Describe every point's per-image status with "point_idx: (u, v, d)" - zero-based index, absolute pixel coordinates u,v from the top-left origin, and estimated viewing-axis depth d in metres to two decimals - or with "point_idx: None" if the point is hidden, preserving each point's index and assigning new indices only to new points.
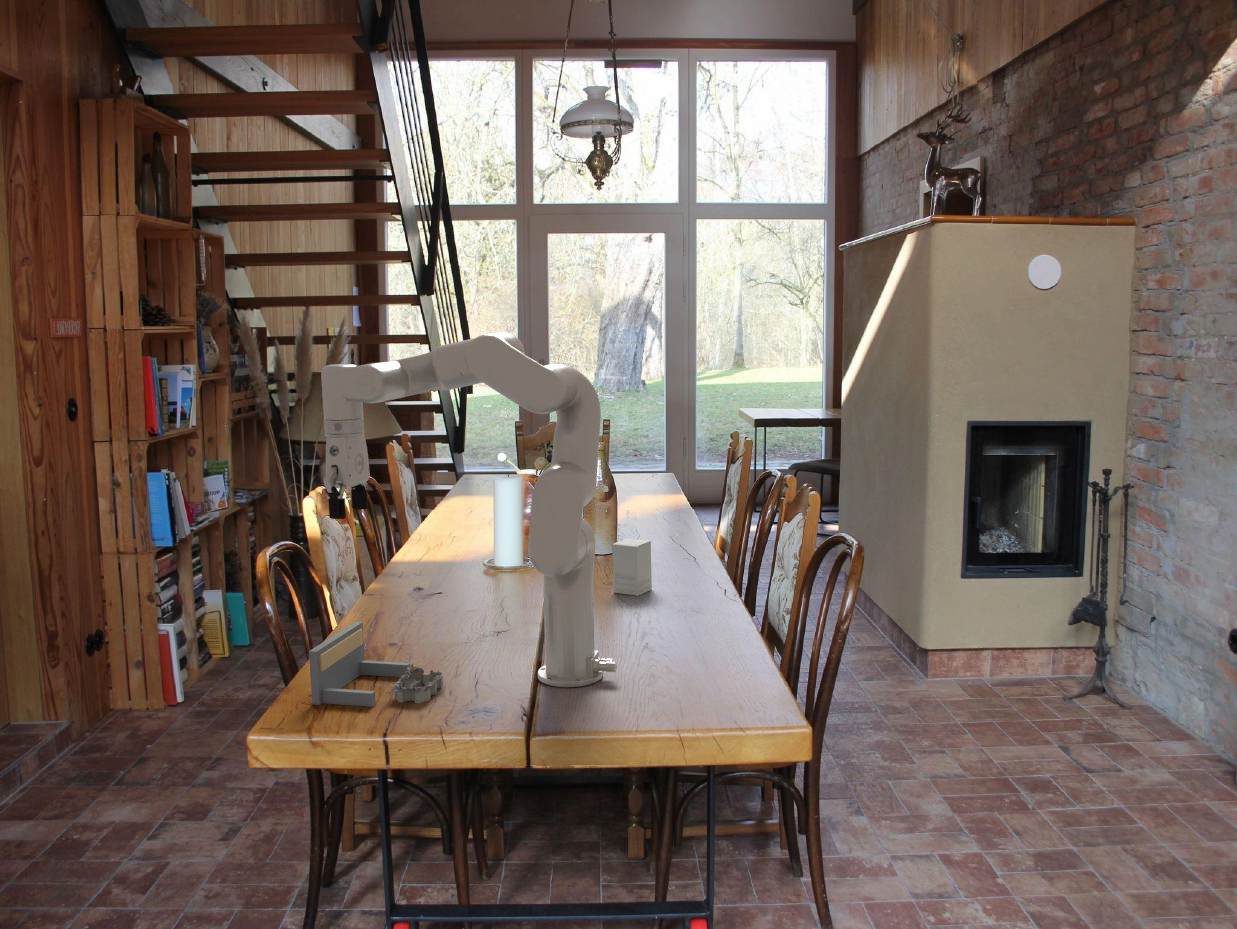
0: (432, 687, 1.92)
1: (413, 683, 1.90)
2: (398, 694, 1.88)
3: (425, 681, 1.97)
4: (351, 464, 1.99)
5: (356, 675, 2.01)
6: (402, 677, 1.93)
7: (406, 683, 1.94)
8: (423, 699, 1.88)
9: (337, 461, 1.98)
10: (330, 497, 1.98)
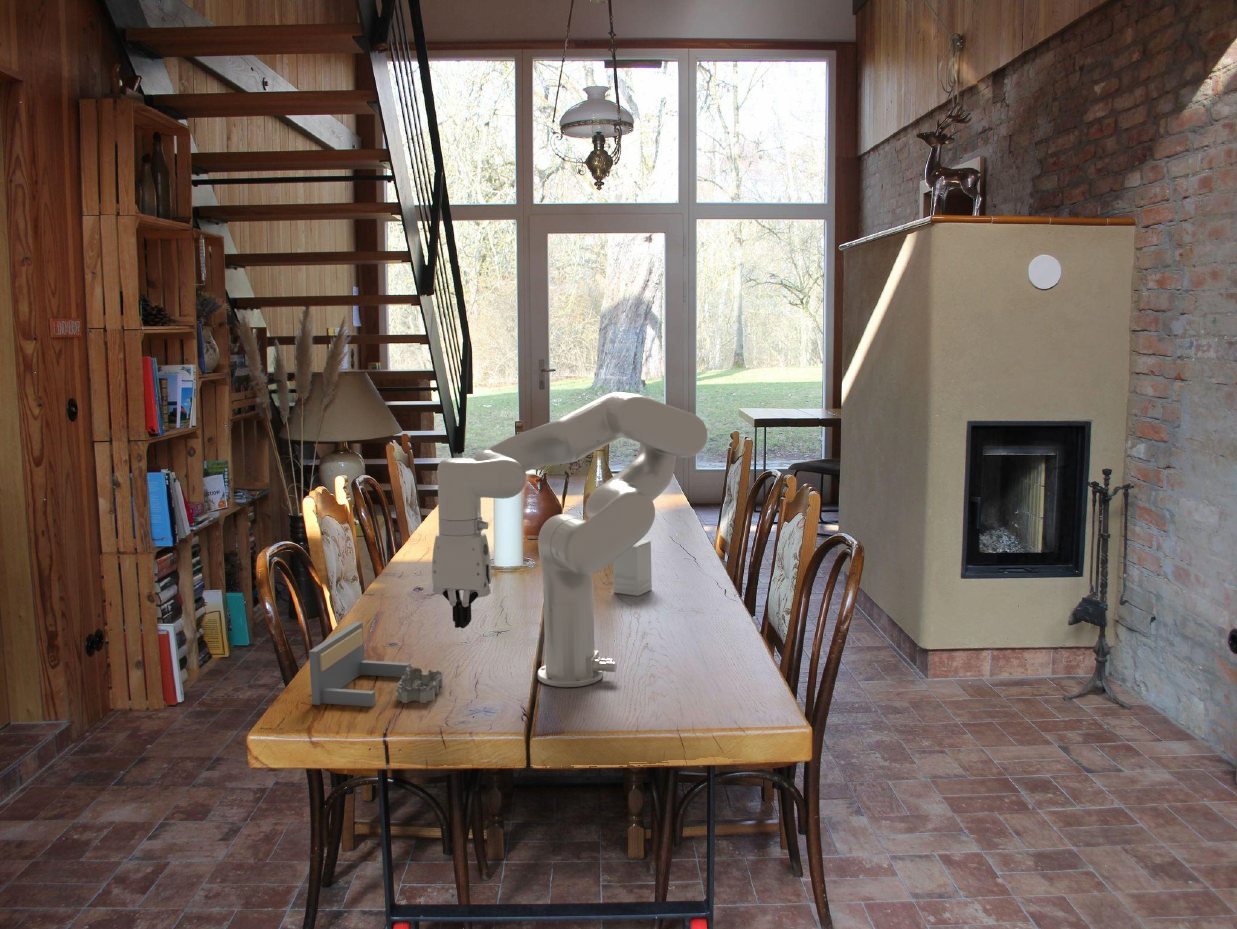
0: (435, 687, 1.92)
1: (416, 683, 1.90)
2: (403, 694, 1.88)
3: (424, 680, 1.97)
4: None
5: (356, 675, 2.01)
6: (403, 678, 1.93)
7: (406, 684, 1.94)
8: (428, 698, 1.88)
9: (488, 559, 1.86)
10: (470, 604, 1.87)
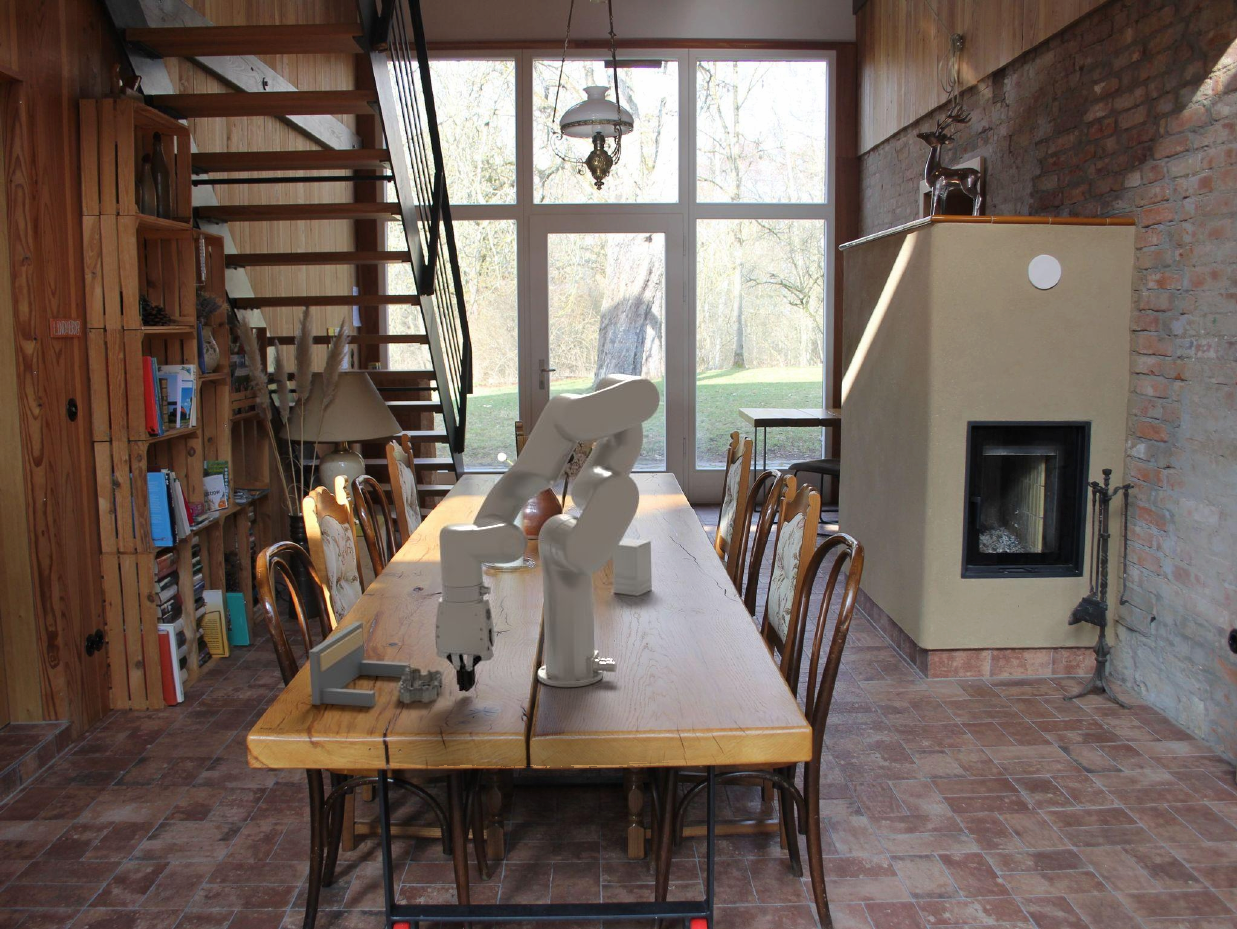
0: (436, 686, 1.92)
1: (417, 683, 1.90)
2: (405, 695, 1.88)
3: (423, 680, 1.97)
4: None
5: (356, 675, 2.01)
6: (403, 678, 1.93)
7: (407, 684, 1.93)
8: (430, 698, 1.89)
9: (491, 623, 1.88)
10: (473, 667, 1.89)
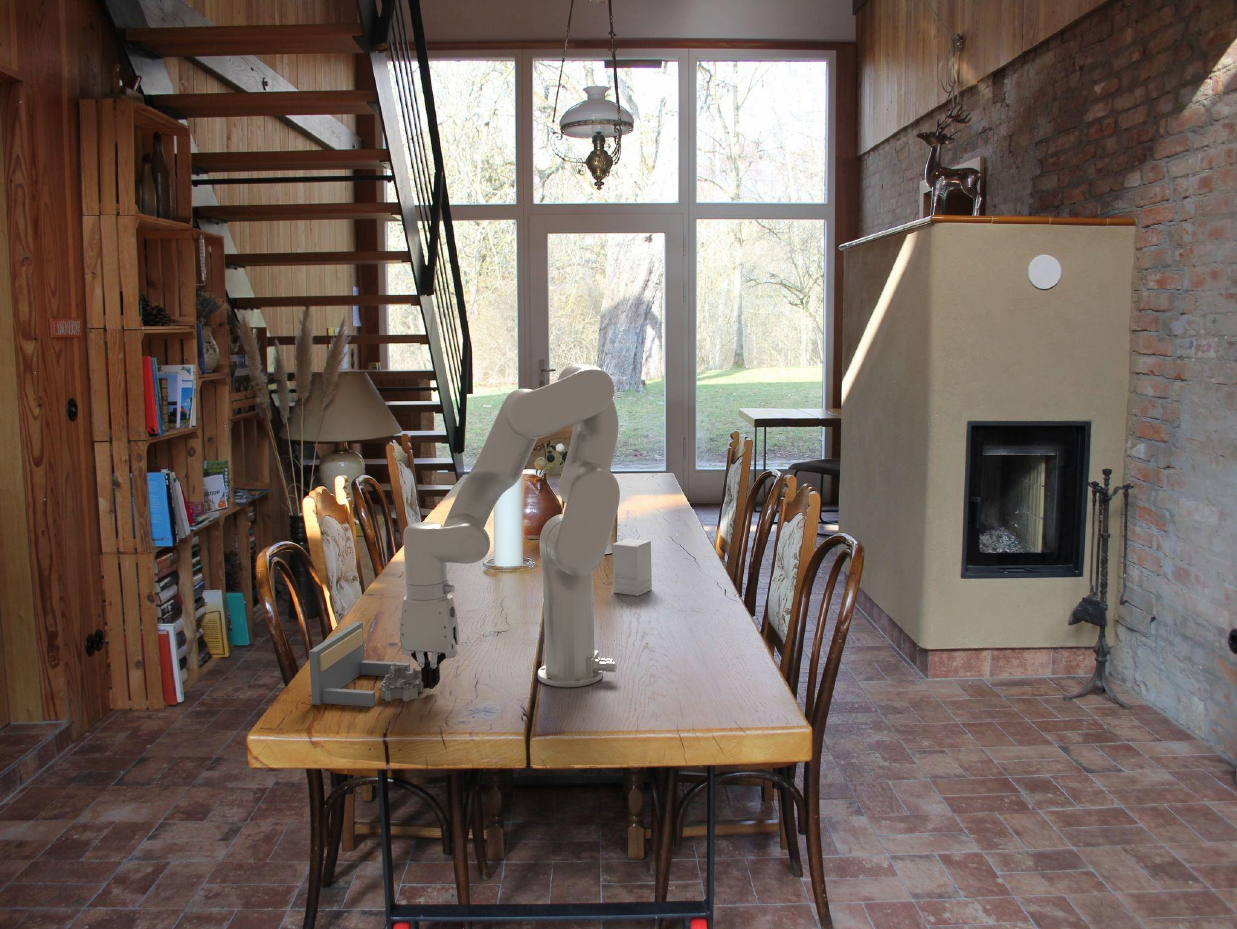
0: (418, 685, 1.93)
1: (399, 681, 1.91)
2: (386, 693, 1.89)
3: (408, 679, 1.98)
4: None
5: (356, 675, 2.01)
6: (387, 676, 1.94)
7: (390, 682, 1.95)
8: (411, 697, 1.90)
9: (455, 621, 1.90)
10: (438, 665, 1.90)
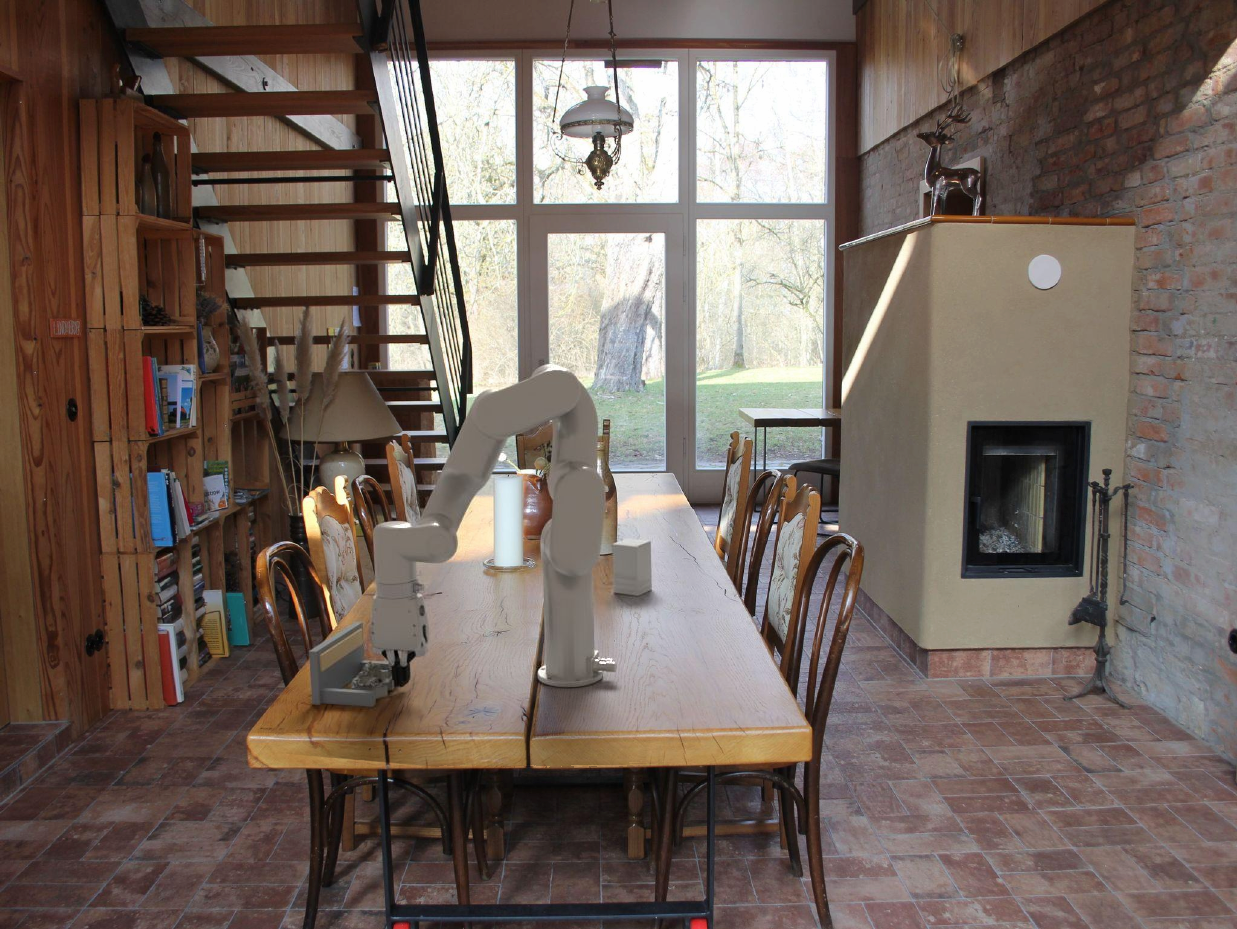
0: (390, 684, 1.94)
1: (370, 680, 1.93)
2: None
3: (383, 677, 1.99)
4: None
5: (356, 675, 2.01)
6: (360, 674, 1.96)
7: (364, 680, 1.96)
8: (380, 695, 1.91)
9: (425, 620, 1.91)
10: (408, 663, 1.92)
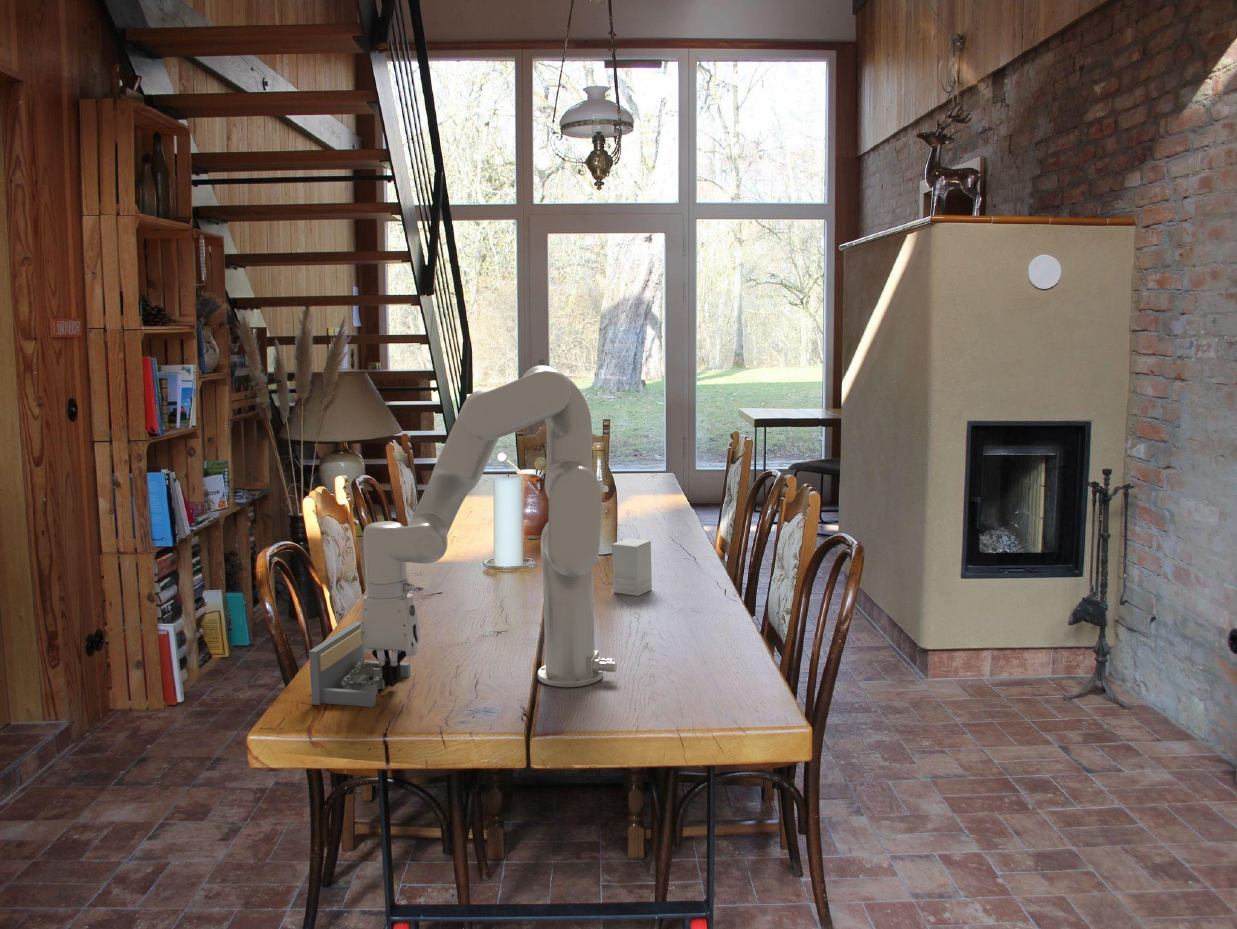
0: (380, 682, 1.95)
1: (361, 677, 1.94)
2: (345, 688, 1.92)
3: (375, 675, 2.00)
4: None
5: None
6: (351, 671, 1.97)
7: (355, 677, 1.97)
8: None
9: (415, 620, 1.92)
10: (398, 663, 1.92)
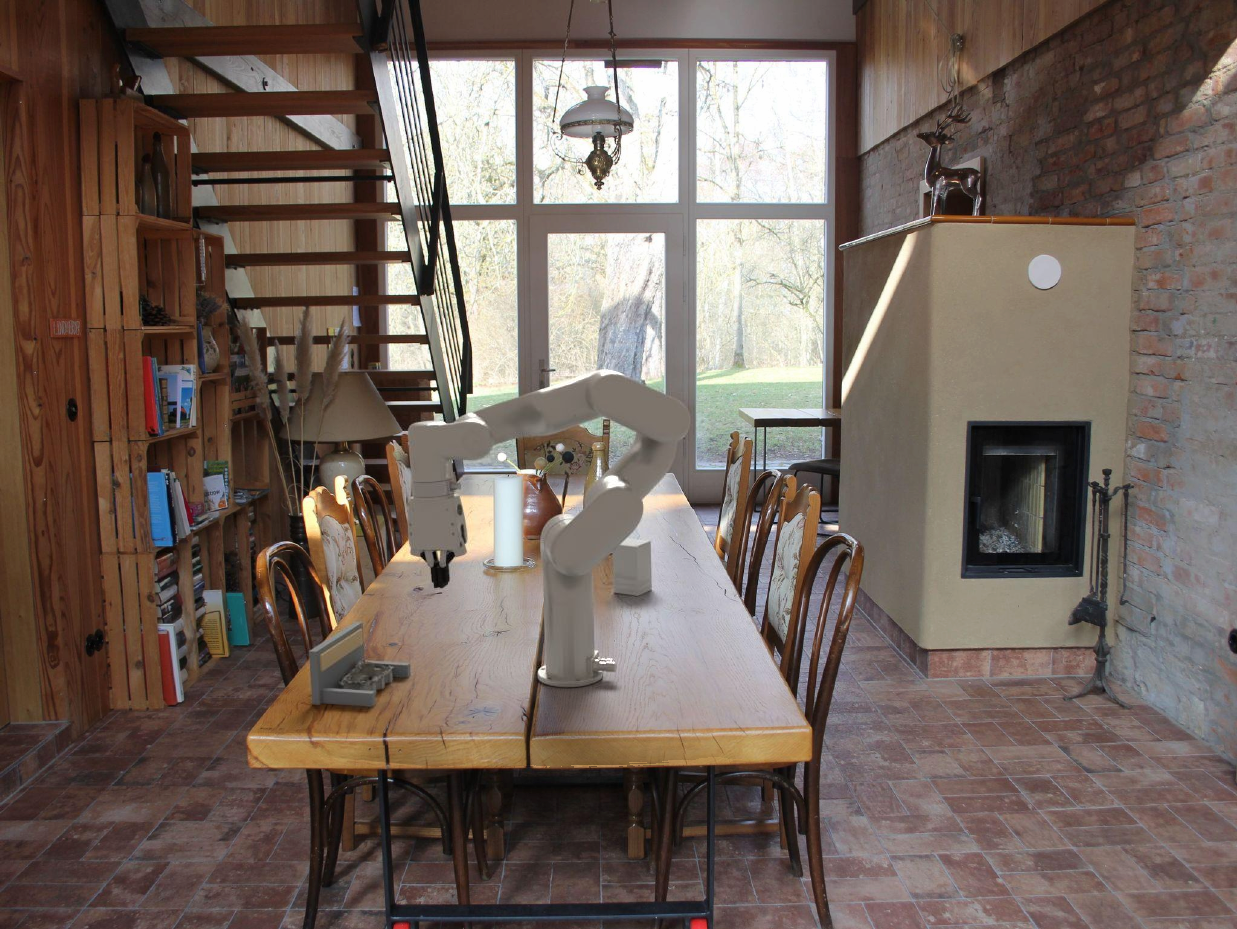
0: (380, 682, 1.95)
1: (360, 677, 1.94)
2: (344, 688, 1.92)
3: (375, 675, 2.00)
4: None
5: None
6: (351, 671, 1.97)
7: (356, 677, 1.98)
8: None
9: (462, 519, 1.90)
10: (447, 564, 1.90)
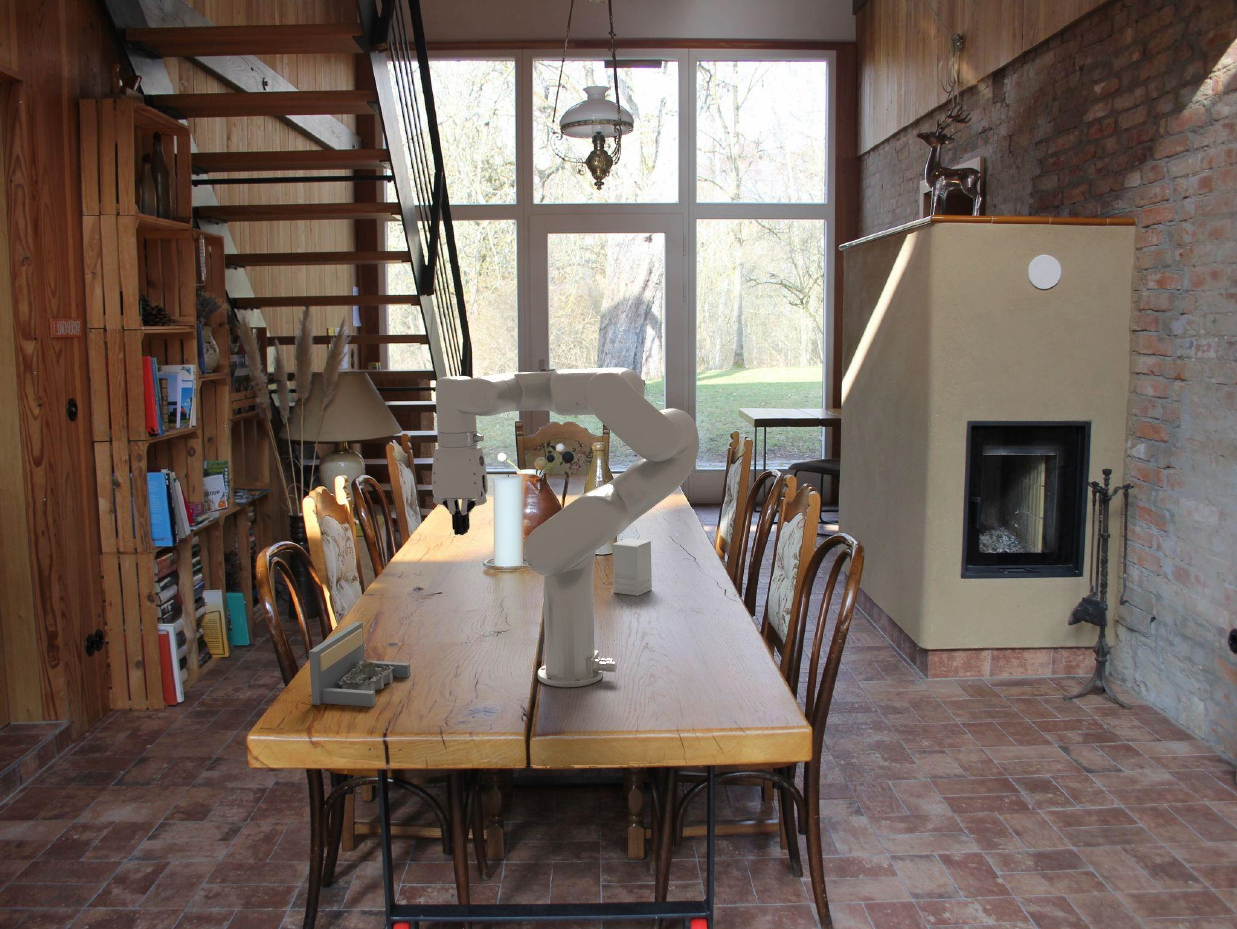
0: (378, 682, 1.95)
1: (359, 677, 1.94)
2: (342, 687, 1.92)
3: (376, 675, 2.00)
4: None
5: None
6: (352, 671, 1.97)
7: (356, 677, 1.98)
8: None
9: (484, 470, 2.00)
10: (468, 512, 2.01)
